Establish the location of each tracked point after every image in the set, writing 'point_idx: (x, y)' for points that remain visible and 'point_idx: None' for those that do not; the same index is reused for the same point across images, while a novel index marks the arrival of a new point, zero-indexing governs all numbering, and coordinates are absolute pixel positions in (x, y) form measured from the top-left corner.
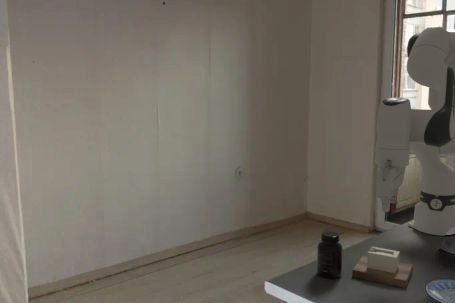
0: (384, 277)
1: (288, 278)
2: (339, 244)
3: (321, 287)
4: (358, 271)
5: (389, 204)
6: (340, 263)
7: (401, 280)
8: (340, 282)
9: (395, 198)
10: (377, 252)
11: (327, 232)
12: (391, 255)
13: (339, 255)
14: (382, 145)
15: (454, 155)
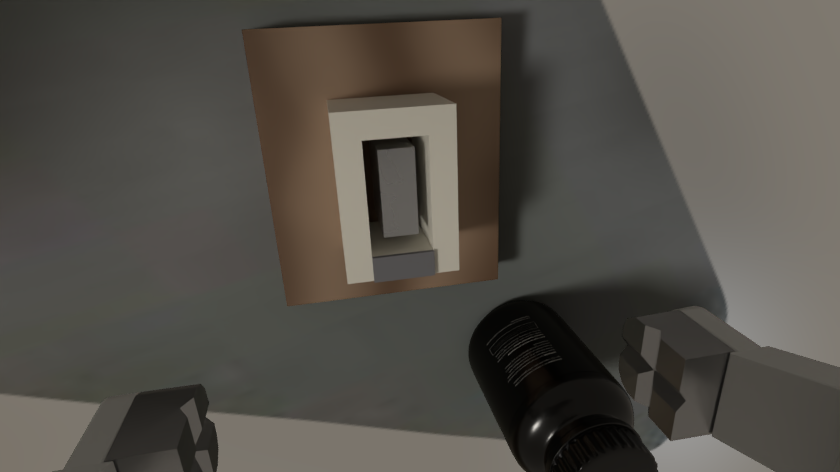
0: (498, 130)
1: None
2: (583, 404)
3: (636, 314)
4: (496, 252)
5: (767, 357)
6: (557, 332)
7: (499, 43)
8: (565, 279)
9: (174, 436)
10: (399, 230)
11: None
12: (435, 141)
13: (587, 359)
14: None
15: None
